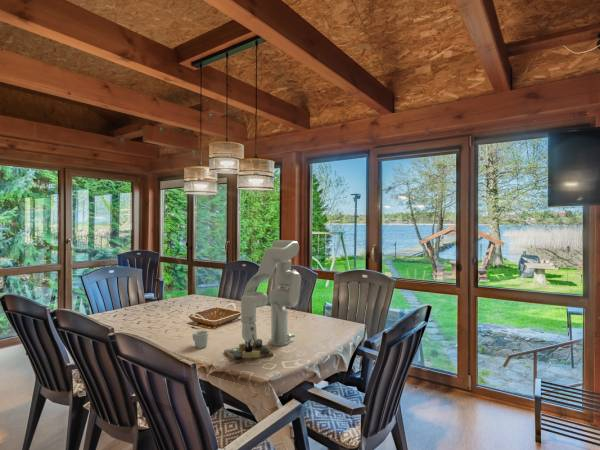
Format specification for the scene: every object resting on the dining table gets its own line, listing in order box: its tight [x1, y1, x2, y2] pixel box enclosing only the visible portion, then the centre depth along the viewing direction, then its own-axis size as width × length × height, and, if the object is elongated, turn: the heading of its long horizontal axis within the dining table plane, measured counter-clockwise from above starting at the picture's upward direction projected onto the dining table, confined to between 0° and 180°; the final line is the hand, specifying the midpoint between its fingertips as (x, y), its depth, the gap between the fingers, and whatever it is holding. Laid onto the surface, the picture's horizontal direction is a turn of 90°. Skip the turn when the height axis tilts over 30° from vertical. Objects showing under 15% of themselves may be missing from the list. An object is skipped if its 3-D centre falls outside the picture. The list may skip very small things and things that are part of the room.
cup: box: [192, 330, 209, 349], centre depth 201 cm, size 11×8×8 cm
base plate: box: [223, 344, 274, 365], centre depth 189 cm, size 21×18×4 cm
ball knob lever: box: [238, 338, 263, 350], centre depth 194 cm, size 13×4×3 cm, turn 120°
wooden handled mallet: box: [234, 350, 260, 359], centre depth 180 cm, size 13×4×3 cm, turn 94°
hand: (248, 353), depth 183 cm, fingers closed
